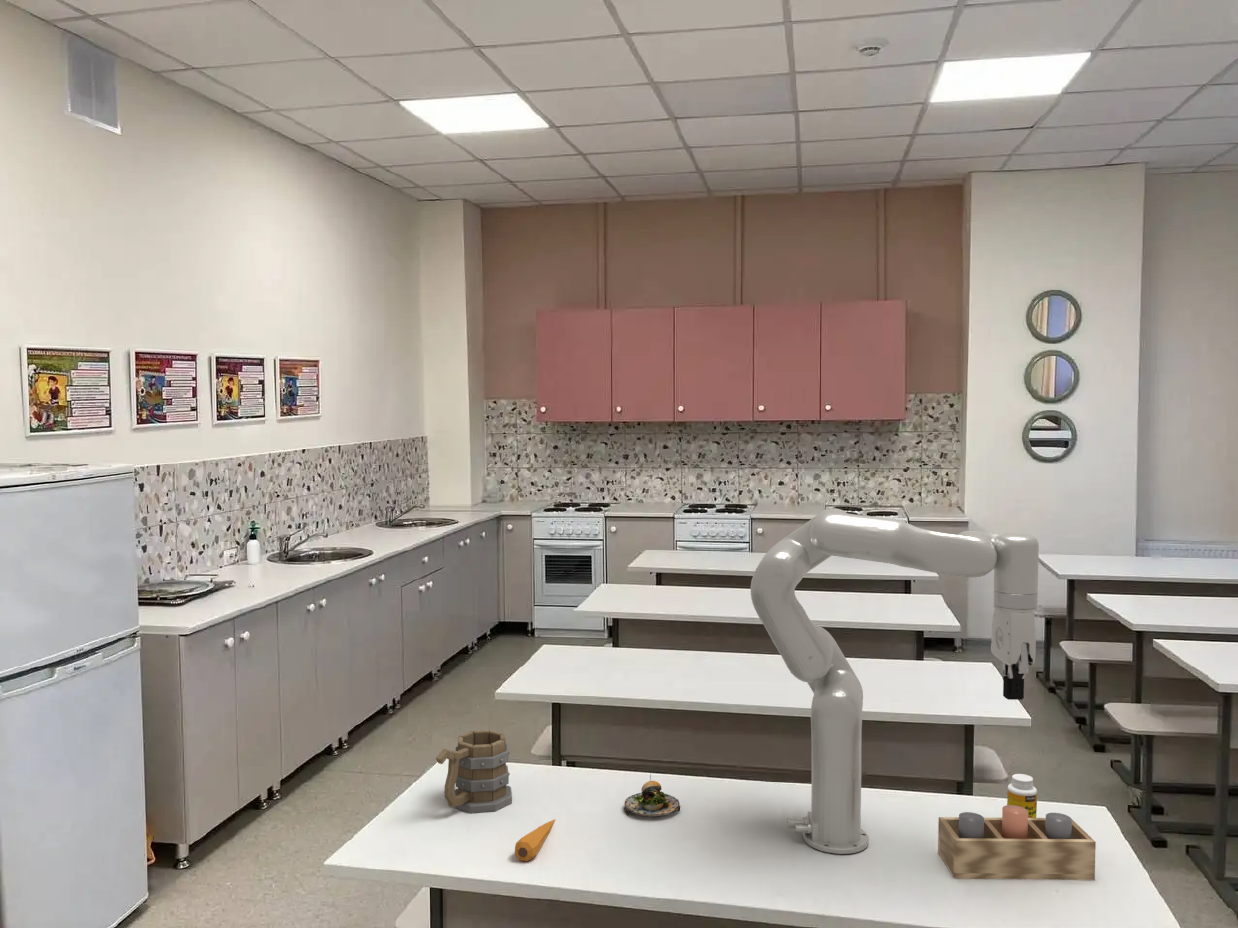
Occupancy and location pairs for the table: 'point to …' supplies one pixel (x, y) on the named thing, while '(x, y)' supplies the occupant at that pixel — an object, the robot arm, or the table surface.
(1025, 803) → the supplement bottle
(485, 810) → the tankard
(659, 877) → the table surface
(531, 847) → the carrot
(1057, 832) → the plunger right
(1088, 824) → the table surface
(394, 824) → the table surface
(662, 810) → the burger
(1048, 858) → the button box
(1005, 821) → the pink cylinder
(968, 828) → the plunger left
